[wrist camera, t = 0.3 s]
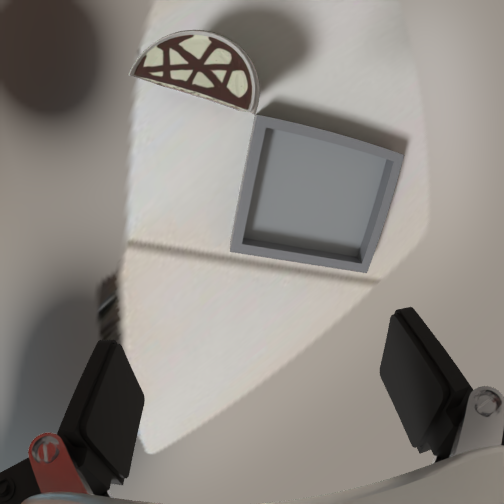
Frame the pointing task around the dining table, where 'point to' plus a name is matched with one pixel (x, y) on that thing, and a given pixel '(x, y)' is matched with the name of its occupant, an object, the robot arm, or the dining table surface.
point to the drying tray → (313, 196)
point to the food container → (201, 68)
